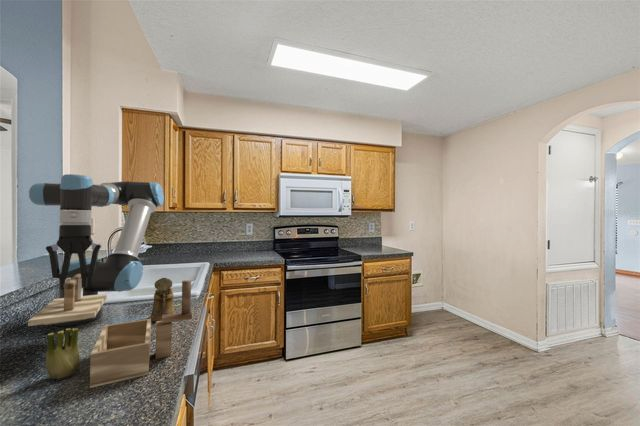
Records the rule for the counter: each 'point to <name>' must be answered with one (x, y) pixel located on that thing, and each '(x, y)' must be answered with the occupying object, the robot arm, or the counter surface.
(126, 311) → the counter surface
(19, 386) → the counter surface
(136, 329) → the toolbox
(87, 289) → the robot arm
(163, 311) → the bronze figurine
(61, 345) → the fennel bulb
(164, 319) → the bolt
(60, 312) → the lid
